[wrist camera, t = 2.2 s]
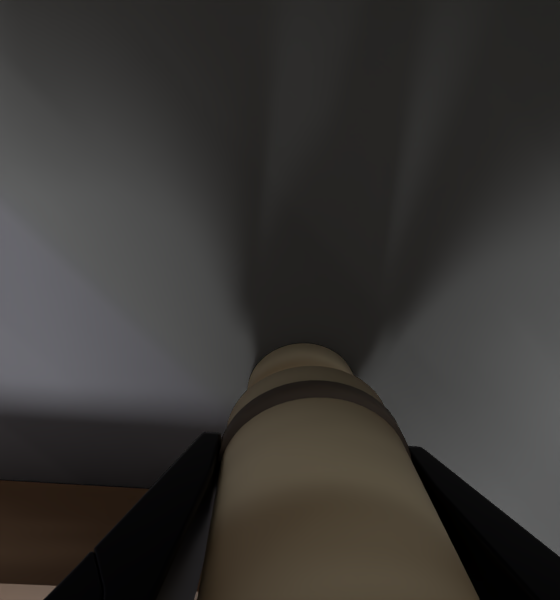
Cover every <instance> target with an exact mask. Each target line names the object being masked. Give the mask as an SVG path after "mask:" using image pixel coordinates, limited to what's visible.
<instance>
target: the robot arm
mask: <svg viewBox="0 0 560 600" xmlns="http://www.w3.org/2000/svg"><path fill="white" fill-rule="evenodd" d="M220 444H221V434H220V433H213V432H204V433H202V434H201V435H200V436H199V437H198V438H197V439H196V440H195V441H194V442H193V444H192V445H191V446H190V447H189V448H188V449H187V450H186V451H185V452H184V453H183V454H182V455H181V456H180V457H179V458H178V459H177V460H176V461H175V463H174V464H173V465H172V466H171V467H170V468H169V469H168V470H167V471H166V472H165V473H164V474H163V475H162V476H161V477H160V478H159V479H158V481H157V482H156V483H155V484H154V485H153V486H152V487H151V488H150V489H149V490H148V491H147V492H146V493H145V494H144V495H143V496H142V497H141V499H140V500H139V501H138V502H137V503H136V504H135V505H134V506H133V507H132V508H131V509H130V510H129V511H128V512H127V513H126V514H125V515H124V517H123V518H122V519H121V520H120V521H119V522H118V523H117V524H116V525H115V526H114V527H113V528H112V529H111V530H110V531H109V532H108V533H107V534H106V536H105V537H104V538H103V539H102V540H101V541H100V542H99V543H98V544H97V545H96V546H95V547H94V549H93V551H91V552H89V553H88V554H87V555H86V556H85V557H84V559H83V560H82V561H81V562H80V563H79V564H78V565H77V566H76V567H75V568H74V569H73V570H72V571H71V572H70V573H69V574H68V575H67V576H66V577H65V578H64V579H63V580H62V581H61V582H60V583H59V584H58V585H57V586H56V587H55V588H54V589H53V590H52V591H51V592H50V593H49V594H48V595H47V596H46V597H45V598H44V599H43V600H194V599H195V595H196V591H197V587H198V583H199V579H200V575H201V571H202V568H203V562H204V557H205V551H206V545H207V539H208V533H209V528H210V522H211V516H212V510H213V504H214V499H215V493H216V477H217V460H218V455H219V449H220ZM408 447H409V451H410V454H411V461H412V463H413V465H414V467H415V469H416V471H417V473H418V475H419V477H420V479H421V481H422V483H423V485H424V488H425V490H426V492H427V494H428V496H429V498H430V500H431V502H432V504H433V506H434V508H435V510H436V512H437V514H438V516H439V518H440V520H441V522H442V524H443V526H444V528H445V530H446V532H447V534H448V536H449V538H450V540H451V542H452V544H453V546H454V548H455V550H456V552H457V554H458V556H459V558H460V560H461V562H462V564H463V566H464V569H465V571H466V573H467V575H468V577H469V579H470V581H471V583H472V585H473V587H474V589H475V591H476V593H477V595H478V597H479V599H480V600H560V557H559V556H558V555H557V554H556V553H554V552H553V551H552V550H551V549H549V548H548V547H547V546H545V545H544V544H543V543H542V542H540V541H539V540H538V539H537V538H535V537H534V536H533V535H532V534H530V533H529V532H528V531H527V530H525V529H524V528H523V527H522V526H520V525H519V524H518V523H516V522H515V521H514V520H513V519H511V518H510V517H509V516H508V515H506V514H505V513H504V512H503V511H501V510H500V509H499V508H498V507H496V506H495V505H494V504H493V503H491V502H490V501H489V500H487V499H486V498H485V497H484V496H482V495H481V494H480V493H479V492H477V491H476V490H475V489H474V488H472V487H471V486H470V485H469V484H467V483H466V482H465V481H464V480H462V479H461V478H460V477H459V476H457V475H456V474H455V473H453V472H452V471H451V470H450V469H448V468H447V467H446V466H445V465H443V464H442V463H441V462H440V461H438V460H437V459H436V458H435V457H433V456H432V455H431V454H430V453H428V452H427V451H426V450H424V449H423V448H421V447H417V446H408Z"/></svg>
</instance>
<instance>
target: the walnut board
mask: <svg viewBox="0 0 560 600" xmlns="http://www.w3.org/2000/svg"><path fill="white" fill-rule="evenodd" d="M148 490H149V489H141V488H124V487H107V486H90V485H73V484H56V483H38V482H21V481H4V480H0V600H43V599H44V598H45V597H46V596H47V595H48V594H49V593H50V592H51V591H52V590H53V589H54V588H55V587H56V586H57V585H58V584H59V583H60V582H61V581H62V580H63V579H64V578H65V577H66V576H67V575H68V574H69V573H70V572H71V571H72V570H73V569H74V568H75V567H76V566H77V565H78V564H79V563H80V562H81V561H82V560H83V559H84V557H85V556H86V555H87V554H88V553H89V552H91V551H93V549H94V547H95V546H96V545H97V544H98V543H99V542H100V541H101V540H102V539H103V538H104V537H105V536H106V534H107V533H108V532H109V531H110V530H111V529H112V528H113V527H114V526H115V525H116V524H117V523H118V522H119V521H120V520H121V519H122V518H123V517H124V515H125V514H126V513H127V512H128V511H129V510H130V509H131V508H132V507H133V506H134V505H135V504H136V503H137V502H138V501H139V500H140V499H141V497H142V496H143V495H144V494H145V493H146V492H147V491H148ZM201 574H202V571H201ZM200 580H201V575H200V579H199V583H198V587H197V591H196V595H195V599H194V600H197V597H198V591H199V586H200Z"/></svg>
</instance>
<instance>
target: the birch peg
mask: <svg viewBox="0 0 560 600" xmlns="http://www.w3.org/2000/svg"><path fill="white" fill-rule="evenodd" d="M197 600H480V599H479V597H478V595H477V593H476V591H475V589H474V587H473V585H472V583H471V581H470V579H469V577H468V575H467V573H466V571H465V569H464V566H463V564H462V562H461V560H460V558H459V556H458V554H457V552H456V550H455V548H454V546H453V544H452V542H451V540H450V538H449V536H448V534H447V532H446V530H445V528H444V526H443V524H442V522H441V520H440V518H439V516H438V514H437V512H436V510H435V508H434V506H433V504H432V502H431V500H430V498H429V496H428V494H427V492H426V490H425V488H424V485H423V483H422V481H421V479H420V477H419V475H418V473H417V471H416V469H415V467H414V465H413V463H412V461H411V454H410V451H409V447H408V444H407V442H406V440H405V438H404V436H403V434H402V432H401V430H400V428H399V427H398V425H397V423H396V421H395V419H394V417H393V416H392V415H391V413H390V412H389V411H388V410H387V409H386V408H385V406H384V405H383V403H382V401H381V399H380V398H379V397H378V395H377V394H376V393H375V391H374V390H373V389H372V388H371V387H370V386H369V385H367V384H366V383H365V382H363V381H362V380H361V379H359V378H357V377H355V376H354V375H353V373H352V371H351V369H350V367H349V366H348V364H347V363H346V362H345V360H344V359H343V358H342V357H341V356H339V355H338V354H337V353H335V352H334V351H332V350H330V349H328V348H326V347H323V346H320V345H316V344H309V343H298V344H291V345H286V346H284V347H281V348H278V349H276V350H274V351H272V352H271V353H269V354H268V355H266V356H265V357H264V358H263V359H262V360H261V361H260V362H259V363H258V364H257V366H256V367H255V368H254V370H253V372H252V374H251V376H250V379H249V382H248V389H247V391H246V392H245V393H244V394H243V395H242V396H241V398H240V399H239V400H238V402H237V403H236V405H235V406H234V408H233V410H232V412H231V414H230V417H229V420H228V424H227V428H226V430H225V432H224V434H223V437H222V440H221V444H220V449H219V455H218V460H217V477H216V493H215V499H214V504H213V510H212V516H211V522H210V528H209V533H208V539H207V545H206V551H205V557H204V562H203V568H202V574H201V580H200V586H199V591H198V597H197Z"/></svg>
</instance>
